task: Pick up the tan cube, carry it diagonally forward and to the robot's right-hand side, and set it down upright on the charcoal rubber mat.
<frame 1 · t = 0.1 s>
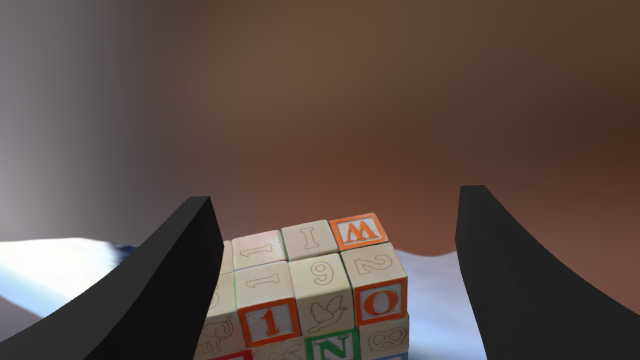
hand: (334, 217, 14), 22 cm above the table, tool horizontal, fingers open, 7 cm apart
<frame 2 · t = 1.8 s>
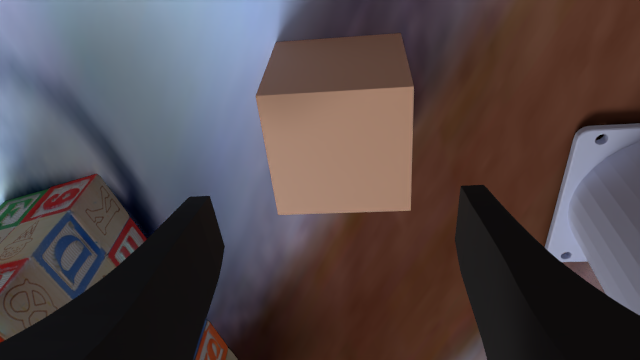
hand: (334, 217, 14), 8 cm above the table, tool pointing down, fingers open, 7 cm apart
stack of blocks: (157, 308, 30), on the table
tan cube: (341, 93, 20), on the table
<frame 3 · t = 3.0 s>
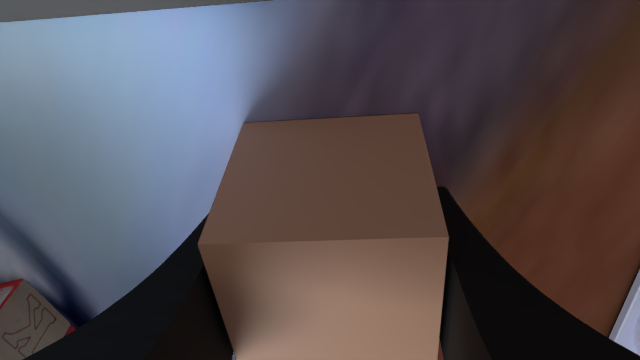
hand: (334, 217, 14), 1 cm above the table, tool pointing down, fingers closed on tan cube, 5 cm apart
tan cube: (335, 188, 15), on the table, touching gripper
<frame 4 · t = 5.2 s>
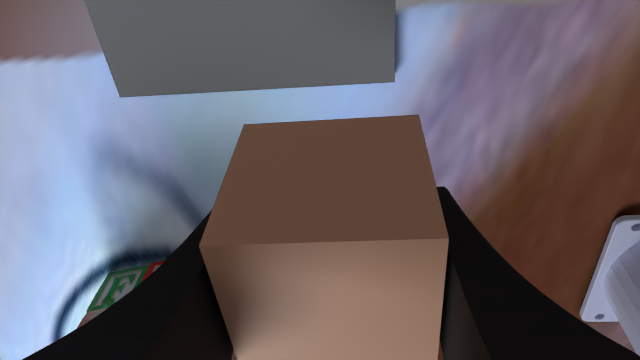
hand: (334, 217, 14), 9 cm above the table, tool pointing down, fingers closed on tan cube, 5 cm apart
stack of blocks: (228, 358, 34), on the table
tan cube: (336, 189, 15), point 7 cm above the table, touching gripper
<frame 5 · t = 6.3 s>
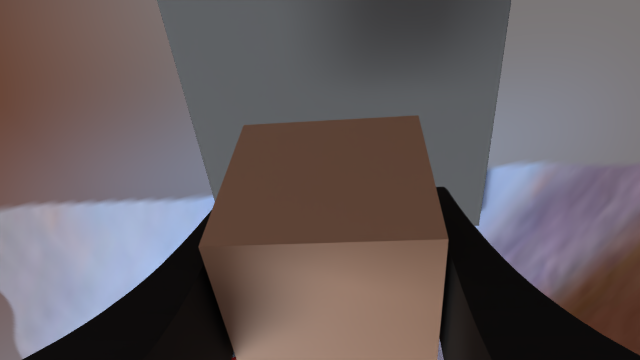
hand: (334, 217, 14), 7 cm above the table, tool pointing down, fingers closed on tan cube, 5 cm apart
charcoal mat: (339, 110, 19), on the table
tan cube: (335, 189, 15), point 5 cm above the table, touching gripper
when the fingers open (3 cm above the table, at t = 7.5 s): tan cube drops 1 cm, resting on charcoal mat.
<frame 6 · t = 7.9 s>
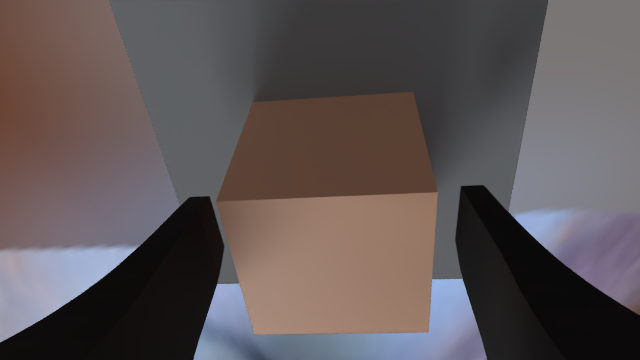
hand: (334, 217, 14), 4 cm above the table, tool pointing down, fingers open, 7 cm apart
charcoal mat: (337, 152, 16), on the table
tan cube: (337, 163, 16), point 1 cm above the table, touching charcoal mat
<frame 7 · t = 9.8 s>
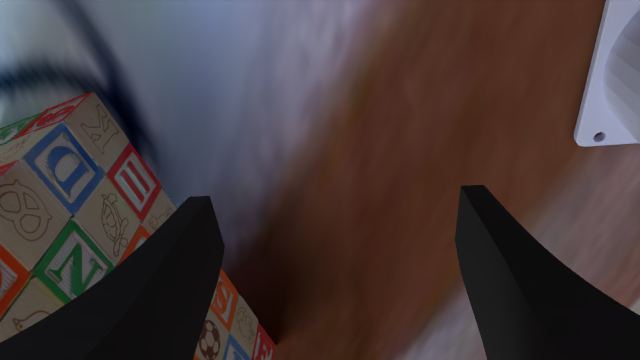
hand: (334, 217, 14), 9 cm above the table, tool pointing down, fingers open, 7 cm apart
stack of blocks: (163, 251, 29), on the table
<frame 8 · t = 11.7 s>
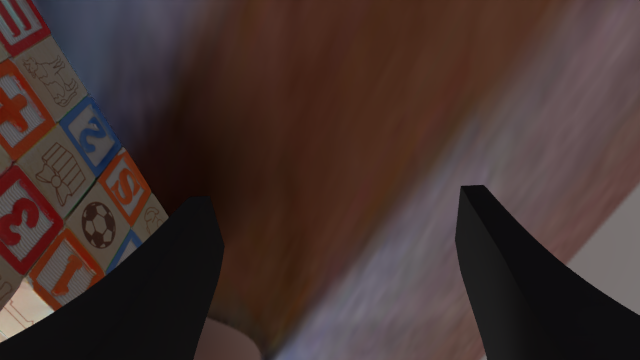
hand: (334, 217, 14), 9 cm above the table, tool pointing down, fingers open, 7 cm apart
stack of blocks: (59, 130, 24), on the table
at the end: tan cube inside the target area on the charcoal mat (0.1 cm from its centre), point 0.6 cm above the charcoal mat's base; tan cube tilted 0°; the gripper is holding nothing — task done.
